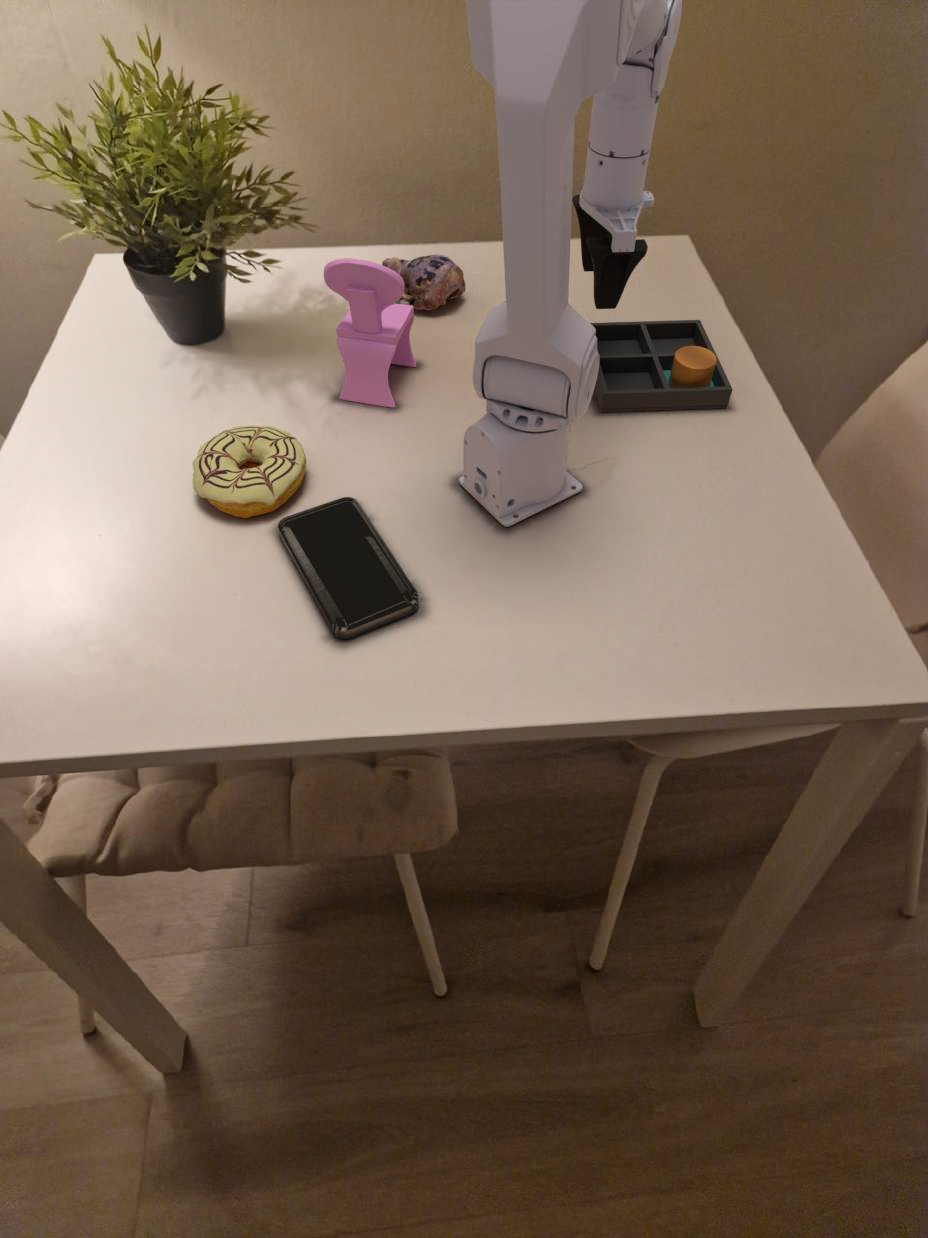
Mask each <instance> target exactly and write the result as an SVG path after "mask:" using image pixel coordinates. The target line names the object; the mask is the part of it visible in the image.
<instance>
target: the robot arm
mask: <svg viewBox="0 0 928 1238" xmlns="http://www.w3.org/2000/svg"><path fill="white" fill-rule="evenodd" d="M465 6H466V9H465V10H466V18H467V19H466V20H467V21H466V22H467V33H468V34H467V35H468V40H469V42H470V53H471V64H472V67H474V69H475V70H476V71H477V73H479V74H480V75H481V76H482V77H483V78H484V79H485V81H487V82H488V84H490V86H492V88H493V93H494V95H493V97H494V106H495V107H494V108H495V110H494V111H495V121H496V122H495V123H496V137H497V154H498V155H497V156H498V175H499V191H500V193H499V194H500V209H501V231H502V232H501V233H502V249H503V270H504V283H505V284H504V286H505V287H504V289H505V300H504V301H501V302H500V303H498V304H496V305H494V306H493V307H492V308H491V309H490V310H489V312H488V313H487V315H486V317H485V318H484V320H483V321H482V323H481V325H480V328H479V330H478V332H477V334H476V336H475V337H476V338H475V341H474V360H473V361H474V362H473V365H472V385H473V389H474V391H475V392H476V393H475V394H476V395H477V397H478V398H479V399H482V400H486V403H485V411H486V413H485V414H484V415H483V416H482V417H481V418H480V419H478V420H477V421H476V422H474V423H472V424H471V425H470V426H468V427H467V428H466V430H465V431H464V435H463V475H462V476H460V477H459V478H458V483H459V485H460V486H462V488H464V490H466V491H467V492H468V493H469V494H470V495H471V496H472V497H473V498H474V499H475V500H476V501H477V503H479V504H480V505H481V506H483V508H484V509H485V510H486V511H487V512H488V513H489V514H491V515H492V516H493V518H494V519H496V520H497V521H498V523H500V524H501V525H502V526H503V527H506V528H507V527H511V526H513V525H515V524H517V523H519V522H521V521H523V520H525V519H527V518H529V517H531V516H533V515H535V514H537V513H540V512H541V511H544V510H546V509H547V508H550V507H551V506H554V505H555V504H556V505H557V504H558V503H560V502H562V501H564V500H566V499H568V498H570V497H572V496H574V495H577V494H578V493H580V492H582V491H583V489H584V488H583V487H584V486H583V485H584V484H582V483H581V482H580V481H579V480H578V479H577V478H576V477H574V476H573V475H572V474H570V473H569V472H568V471H567V462H568V456H569V455H568V454H569V447H570V440H571V432H572V426H573V425H572V424H573V422H576V421H578V420H579V419H580V418H581V417H584V416H585V415H586V413H587V411H588V409H589V406H590V404H591V401H592V399H593V395H594V393H595V391H594V388H595V384H596V380H597V375H598V370H599V362H600V356H599V353H598V351H597V338H596V336H595V335H596V329H595V328H594V327H593V326H592V325H591V324H590V323H591V322H589V321H588V320H587V319H586V318H585V317H584V316H582V315H581V313H579V312H578V311H577V310H576V309H574V307H573V306H572V305H570V303H569V293H570V292H569V291H570V264H571V239H572V238H571V237H572V211H573V210H572V209H573V207H574V209H575V213H576V216H577V221H578V222H577V223H578V226H579V227H578V228H579V236H580V251H581V252H580V253H581V263H582V268H583V269H582V270H583V272H586V273H587V272H593V300H594V301H593V302H594V307H595V309H596V310H615V309H616V308H617V306H618V304H619V303H620V300H621V298H622V296H623V293H624V290H625V288H626V286H627V283H628V281H629V279H630V277H631V275H632V273H633V272H634V271H635V269H636V268H637V266H638V264H640V262H641V261H642V260H643V259H644V258H645V256H646V255H647V253H648V250H649V249H648V248H649V246H648V243H647V241H646V239H645V238H644V239H643V238H642V239H640V238H639V239H637V235H638V229H637V225H638V223H639V219H640V216H641V213H642V211H643V209H644V208H651V207H652V208H653V206H654V203H655V197H654V195H653V193H652V191H650V190H644V189H645V183H646V178H647V172H648V166H649V160H650V154H651V148H652V144H653V137H654V132H655V125H656V119H657V115H658V108H659V102H660V94H661V92H662V91H663V89H664V88H665V86H666V81H667V79H668V78H667V77H668V74H669V73H668V72H669V66H670V62H671V59H672V56H673V54H674V51H675V47H676V43H677V39H678V37H679V36H678V35H679V30H680V26H681V25H680V24H681V20H682V13H683V0H465ZM592 97H593V98H592ZM589 98H592V105H591V115H590V123H589V130H588V131H589V133H588V141H587V148H586V149H587V151H586V159H585V169H584V177H583V185H582V189H581V191H580V193H579V194H576V195H573V184H574V181H573V180H574V153H575V127H576V126H575V125H576V117H577V115H578V112H579V109H580V107H581V105H582V103H583V102H584V101H585V100H587V99H589Z"/></svg>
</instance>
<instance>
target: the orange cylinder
mask: <svg viewBox="0 0 928 1238" xmlns="http://www.w3.org/2000/svg"><path fill="white" fill-rule="evenodd" d="M716 362H717V359H716V356H715V354H714V353H713V352H711V351H710V350H708V349H706V348H703V347H699V346H685V347H682V348H680V349H678V350H677V351H676V353H675V356H674V360H673V365H672V369H671V373H670V377H669V386H670V388H695V387H709V386H710V383H711V379H712V376H713V372H714V369H715V365H716Z"/></svg>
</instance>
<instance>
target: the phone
mask: <svg viewBox="0 0 928 1238" xmlns="http://www.w3.org/2000/svg"><path fill="white" fill-rule="evenodd" d="M277 528H278V532H279V536H280V539H281V541H282V542H283V544H284V546H285V549H286V550H287V552H288V554H289V556H290V557H291V559H292V561H293V563H294V565H295V567H296V568H297V570H298V572H299V574H300V576H301V578H302V579H303V581H304V583H305V585H306V587H307V589H308V591H309V592H310V594H311V596H312V598H313V600H314V602H315V603H316V605H317V607H318V609H319V611H320V613H321V614H322V616H323V619H324V620H325V622H326V623H327V626H328V627H329V629H330V631H331V633H332V634H333V636H334V637H335V638H337V639H339V640H350V639H353V638H355V637H357V636H358V637H359V636H361V635H363V634H365V633H368V632H371V631H373V630H376V629H379V628H380V627H383V626H385V625H388V624H390V623H391V624H392V623H393V622H395V621H398V620H401V619H403V618H405V617H408V616H410V615H412V614H415V613H416V611H418V609H419V606H420V605H419V604H420V603H419V593H418V591H417V590H416V588H415V586H414V585H413V584H412V582H411V580H410V579H409V577H408V576H407V575H406V573H405V572H404V570H403V568H402V567H401V565H400V563H399V562H398V561H397V559H396V557H395V556H394V554H393V553H392V552H391V550H390V549H389V547H388V546H387V544H386V542H385V541H384V539H383V538H382V536H381V534H380V533H379V532H378V530H377V528H376V527H375V525H374V524H373V522H372V520H370V517H369V516H368V515H367V513H366V512H365V510H364V509H363V507H362V506H361V504H360V502H359V501H358V500H357V499H356V498H354V497H350V496H344V497H340V498H337V499H334V500H332V501H329V502H326V503H322V504H319V505H316V506H314V507H311V508H308V509H305V510H302V511H299V512H296V513H293V514H290V515H287V516H284V517H282V518H281V519H280V520H279V521H278V524H277Z"/></svg>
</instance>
